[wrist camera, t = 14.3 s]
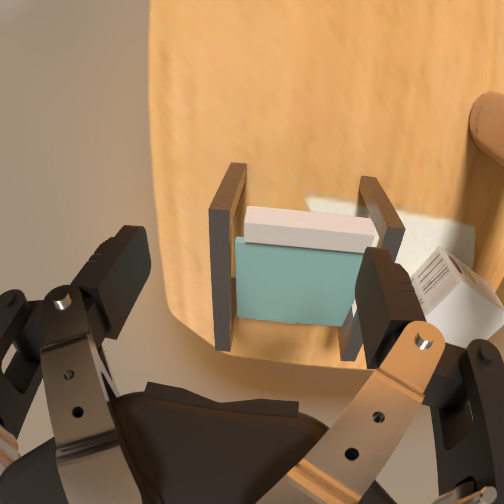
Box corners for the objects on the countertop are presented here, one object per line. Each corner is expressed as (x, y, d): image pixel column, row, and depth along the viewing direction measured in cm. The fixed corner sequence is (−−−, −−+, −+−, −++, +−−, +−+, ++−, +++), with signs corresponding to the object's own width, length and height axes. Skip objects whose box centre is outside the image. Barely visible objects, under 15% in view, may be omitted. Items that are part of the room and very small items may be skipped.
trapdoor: (236, 205, 31) (232, 221, 29) (380, 219, 30) (384, 236, 28) (238, 307, 43) (236, 322, 42) (341, 316, 43) (342, 331, 41)
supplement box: (491, 282, 47) (511, 318, 39) (445, 327, 54) (458, 364, 47) (439, 242, 44) (462, 281, 36) (388, 298, 51) (400, 340, 44)
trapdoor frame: (231, 162, 41) (208, 209, 30) (375, 177, 40) (405, 228, 29) (230, 286, 53) (215, 349, 42) (345, 297, 52) (354, 361, 41)
